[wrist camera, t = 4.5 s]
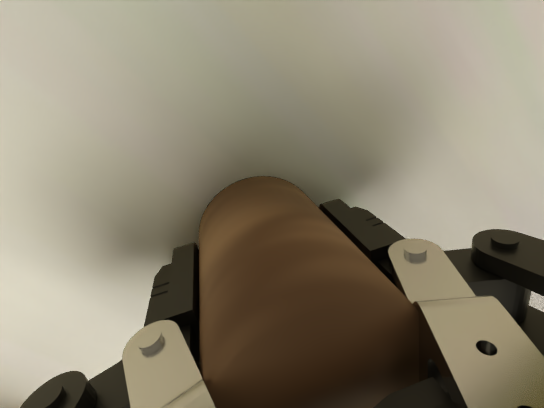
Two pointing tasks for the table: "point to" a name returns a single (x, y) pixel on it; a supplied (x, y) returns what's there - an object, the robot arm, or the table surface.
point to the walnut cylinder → (295, 307)
